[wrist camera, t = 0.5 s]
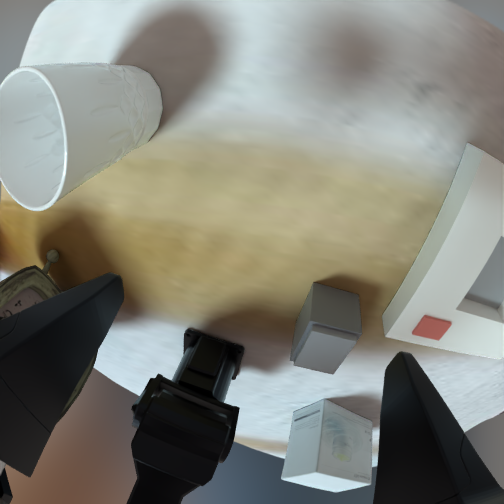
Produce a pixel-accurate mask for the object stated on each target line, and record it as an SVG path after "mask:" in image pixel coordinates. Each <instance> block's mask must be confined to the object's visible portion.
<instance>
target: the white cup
mask: <svg viewBox="0 0 504 504" xmlns="http://www.w3.org/2000/svg"><path fill="white" fill-rule="evenodd" d="M162 111H163V105H162V99H161V92H160V88H159V87H158V85H157V84H156V82H155V81H154V79H153V78H152V76H151V75H150V73H148V72H146V71H144V70H142V69H140V68H138V67H136V66H128V65H113V64H107V63H58V64H44V65H32V66H24V67H20V68H17V69H15V70H14V71H12V72H11V73H10V74H9V75H8V76H7V77H6V78H5V79H4V80H3V82H2V83H1V85H0V180H1V182H2V184H3V185H4V187H5V189H6V190H7V191H8V193H9V194H10V195H11V197H12V198H13V199H14V200H15V201H16V202H18V203H19V204H20V205H21V206H23V207H25V208H27V209H29V210H33V211H42V210H45V209H47V208H49V207H51V206H52V205H53V204H55V203H56V202H57V201H59V200H60V199H61V198H63V197H64V196H66V195H67V194H68V193H70V192H71V191H73V190H74V189H76V188H77V187H79V186H80V185H82V184H83V183H85V182H86V181H88V180H89V179H91V178H92V177H94V176H95V175H97V174H99V173H100V172H102V171H103V170H105V169H107V168H108V167H109V166H111V165H113V164H114V163H116V162H117V161H118V160H120V159H122V158H123V157H124V156H125V155H126V154H128V153H129V152H131V151H132V150H134V149H136V148H138V147H140V146H142V145H144V144H146V143H147V142H148V141H149V139H150V138H151V137H152V135H153V134H154V133H155V131H156V130H157V129H158V127H159V122H160V118H161V114H162Z"/></svg>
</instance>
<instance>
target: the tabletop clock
mask: <svg viewBox="0 0 504 504" xmlns="http://www.w3.org/2000/svg"><path fill="white" fill-rule="evenodd" d="M46 257H47V260H48V262H47V263H46V265H45V266H44V268H43V270H41V269H40V268H39V267H37V266H36V265H34V266H30V267H26V268H23V269H22V270H20V271H18V272H16V273H14V274H13V275H11V276H9V277H8V278H6V279H4V280H2V281H1V282H0V320H2V319H4V318H6V317H8V316H11V315H13V314H15V313H17V312H21V311H22V310H24V309H26V308H28V307H31V306H33V305H35V304H37V303H39V302H42V301H44V300H46V299H48V298H51V297H53V296H55V295H58V294H60V293H62V292H63V291H60V289H59V288H58V287H57V285H56V284H55V283H54V282H53V280H52V279H51V278H50V277H49V276H48V275H47V273H48V270H49V268H50V265H51V263H55V262H57V261H58V259H59V254H58V252H57V251H56V250H49V251H48V252H47V255H46ZM97 352H98V350H97ZM97 352H96V354H95V355H94V357H93V359H92V360H91V362H90V364H89V365H88V367H87V369H86V370H85V372H84V374H83V376H82V377H81V379H80V381H79V382H78V384H77V386H76V388H75V390H74V391H73V393H72V395H71V397H70V399H69V400H68V402H67V404H66V406H65V408H64V410H63V412H62V413H61V415H60V417H59V419H58V421H59V420H60V419H61V418H62V417H63V416H64V415H65V414H66V412H67V411H68V409H69V408H70V407H71V405H72V404H73V403H74V401H75V399H76V398H77V397H78V396H79V394H80V392H81V390H82V388H83V387H84V385H85V383H86V381H87V379H88V377H89V375H90V374H91V371H92V369H93V366H94V364H95V361H96V357H97ZM58 421H57V422H58Z"/></svg>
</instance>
